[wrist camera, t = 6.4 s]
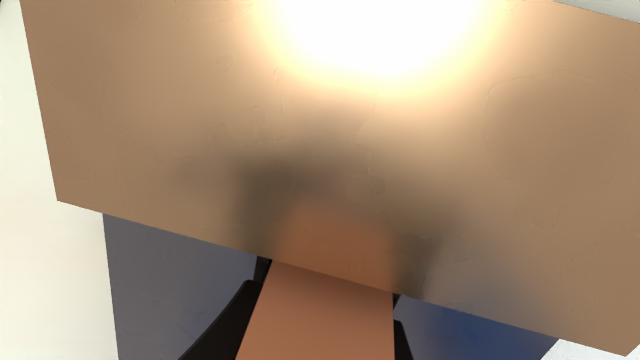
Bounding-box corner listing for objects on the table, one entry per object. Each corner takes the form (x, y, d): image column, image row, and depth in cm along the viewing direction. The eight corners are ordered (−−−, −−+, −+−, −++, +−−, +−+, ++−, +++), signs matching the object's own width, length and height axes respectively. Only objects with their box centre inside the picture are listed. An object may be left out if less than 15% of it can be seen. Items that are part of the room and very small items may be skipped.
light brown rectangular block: (362, 304, 13) (345, 592, 7) (275, 281, 13) (184, 545, 7) (390, 237, 11) (400, 536, 5) (291, 210, 11) (190, 476, 5)
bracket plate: (424, 408, 18) (437, 541, 14) (158, 334, 19) (90, 443, 14) (684, 43, 9) (952, 104, 5) (152, -97, 9) (-42, -156, 5)
